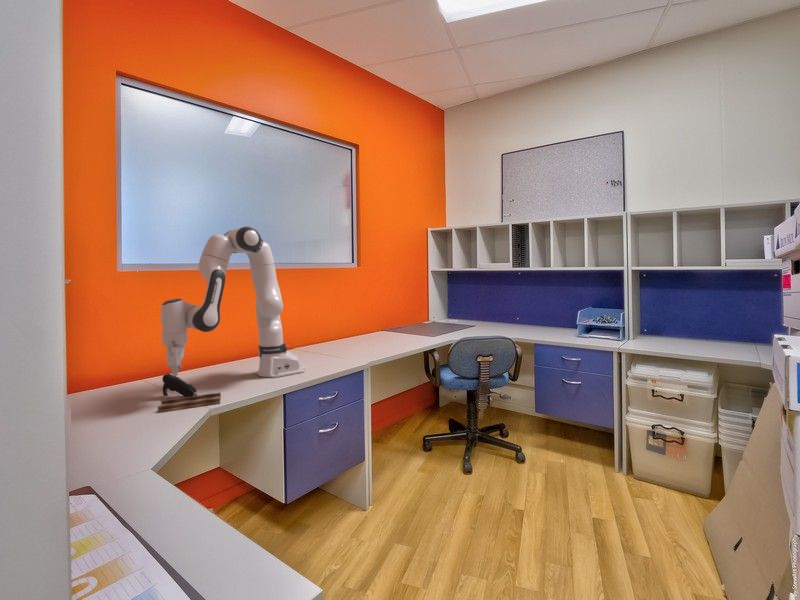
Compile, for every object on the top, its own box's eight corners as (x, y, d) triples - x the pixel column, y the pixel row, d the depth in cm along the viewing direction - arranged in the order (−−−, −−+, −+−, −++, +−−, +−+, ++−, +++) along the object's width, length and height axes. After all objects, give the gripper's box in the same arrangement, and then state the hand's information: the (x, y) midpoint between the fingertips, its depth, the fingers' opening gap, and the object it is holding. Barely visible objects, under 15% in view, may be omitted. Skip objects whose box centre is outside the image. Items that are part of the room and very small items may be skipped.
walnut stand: (220, 395, 161) (220, 391, 161) (220, 403, 152) (219, 399, 152) (162, 404, 153) (161, 399, 153) (157, 412, 144) (157, 408, 144)
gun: (187, 411, 160) (196, 390, 158) (156, 392, 162) (163, 371, 160) (192, 408, 163) (201, 388, 161) (161, 390, 165) (169, 369, 163)
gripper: (180, 343, 151) (182, 378, 152) (186, 334, 169) (188, 366, 171) (161, 344, 148) (163, 380, 149) (169, 335, 167) (171, 367, 168)
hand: (176, 372), depth 160 cm, fingers open, 8 cm apart
